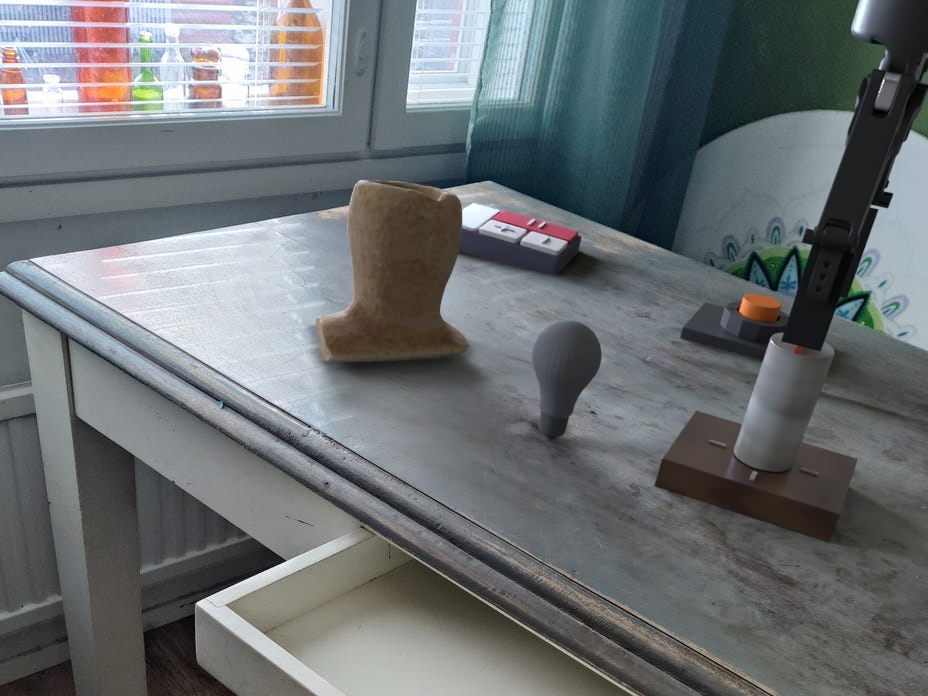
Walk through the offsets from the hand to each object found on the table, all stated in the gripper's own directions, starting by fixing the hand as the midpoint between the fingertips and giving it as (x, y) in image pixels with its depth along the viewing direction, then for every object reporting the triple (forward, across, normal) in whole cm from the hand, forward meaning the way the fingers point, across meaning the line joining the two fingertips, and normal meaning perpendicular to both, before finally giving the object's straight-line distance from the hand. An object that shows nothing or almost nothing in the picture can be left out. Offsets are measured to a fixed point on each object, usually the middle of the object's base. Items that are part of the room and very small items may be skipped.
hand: (816, 317), depth 73 cm
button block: (+14, +31, +8) cm, 35 cm away
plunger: (+11, +31, +7) cm, 33 cm away
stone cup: (+14, +4, +38) cm, 40 cm away
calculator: (+14, +40, +40) cm, 58 cm away
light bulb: (+14, -3, +18) cm, 23 cm away
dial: (+12, 0, 0) cm, 12 cm away
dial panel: (+14, 0, 0) cm, 14 cm away
